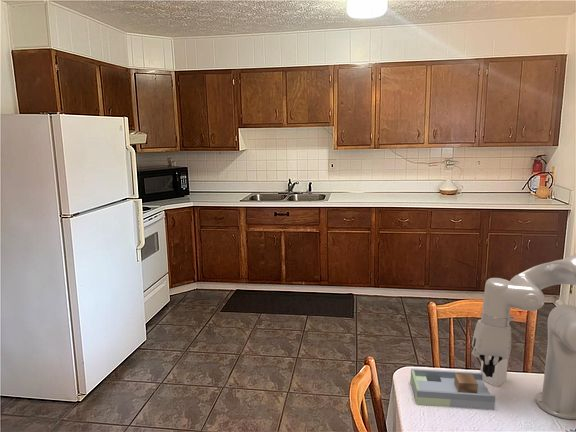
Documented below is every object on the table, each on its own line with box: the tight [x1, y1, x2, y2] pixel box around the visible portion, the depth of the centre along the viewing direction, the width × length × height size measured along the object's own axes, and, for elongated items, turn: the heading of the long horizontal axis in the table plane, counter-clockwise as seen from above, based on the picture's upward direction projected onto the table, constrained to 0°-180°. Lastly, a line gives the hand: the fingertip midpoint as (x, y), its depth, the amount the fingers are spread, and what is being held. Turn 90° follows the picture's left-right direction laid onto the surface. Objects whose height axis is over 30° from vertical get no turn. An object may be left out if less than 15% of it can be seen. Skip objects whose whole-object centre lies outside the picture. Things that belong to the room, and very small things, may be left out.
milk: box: [479, 356, 509, 388], centre depth 144 cm, size 6×6×22 cm
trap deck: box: [410, 368, 496, 411], centre depth 138 cm, size 22×13×4 cm, turn 83°
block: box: [454, 373, 478, 394], centre depth 137 cm, size 6×6×4 cm
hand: (487, 374), depth 135 cm, fingers closed
